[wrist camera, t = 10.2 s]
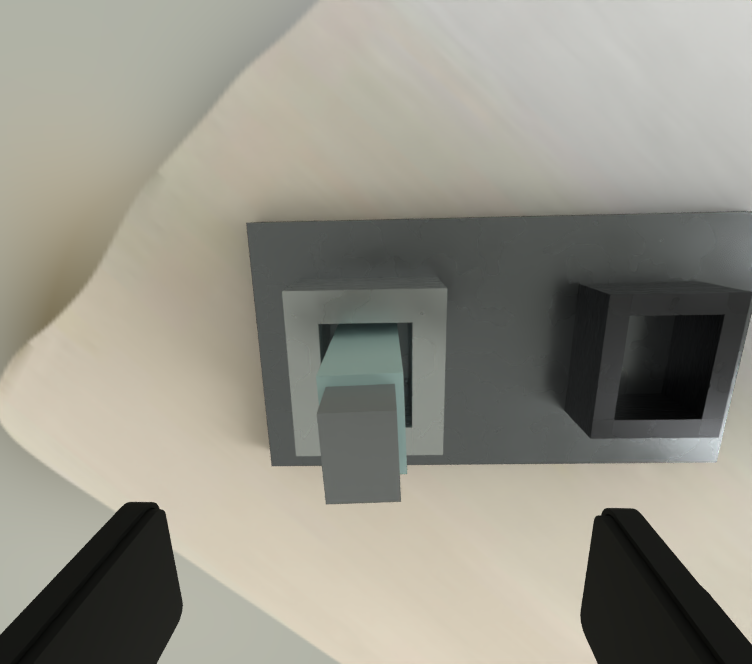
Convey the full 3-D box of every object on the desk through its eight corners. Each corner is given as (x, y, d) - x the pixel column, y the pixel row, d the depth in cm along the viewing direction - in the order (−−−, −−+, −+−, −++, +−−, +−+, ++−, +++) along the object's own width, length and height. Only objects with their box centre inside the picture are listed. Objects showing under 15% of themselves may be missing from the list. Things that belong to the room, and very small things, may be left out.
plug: (396, 317, 22) (406, 397, 12) (399, 386, 23) (410, 511, 13) (339, 319, 22) (305, 402, 12) (345, 389, 23) (317, 515, 13)
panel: (748, 211, 21) (856, 209, 16) (697, 448, 25) (771, 503, 20) (255, 222, 22) (219, 223, 17) (278, 452, 26) (253, 506, 21)
